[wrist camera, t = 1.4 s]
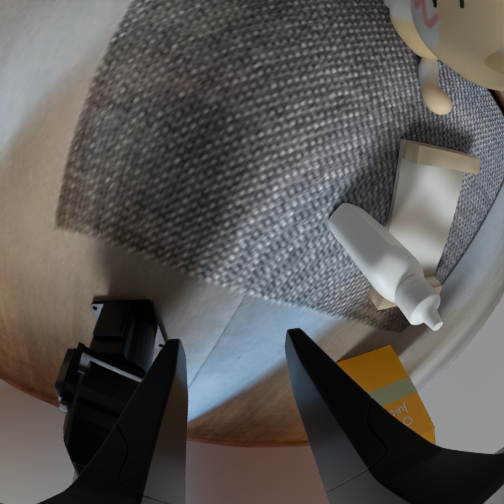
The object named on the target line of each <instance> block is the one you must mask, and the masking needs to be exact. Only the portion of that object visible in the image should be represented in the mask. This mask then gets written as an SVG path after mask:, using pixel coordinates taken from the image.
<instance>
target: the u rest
mask: <svg viewBox="0 0 504 504" xmlns="http://www.w3.org/2000/svg"><path fill="white" fill-rule="evenodd" d="M480 163H481V160H480V159H478V158H476V157H473V156H471V155H469V154H466V153H464V152H460V151H456V150H452V149H448V148H444V147H440V146H436V145H431V144H426V143H421V142H416V141H411V140H406V139H401V141H400V149H399V157H398V165H397V171H396V178H395V184H394V190H393V195H392V201H391V206H390V211H389V216H388V220H387V225H386V230H387V231H388V232H390V233H391V234H392V235H393V236H394V237H395V238H396V239H397V240H398V241H399V242H400V243H401V244H402V245H403V246H404V247H405V248H406V249H407V250H408V251H409V252H410V253H411V254H412V255H413V256H414V257H415V258H416V259H417V260H418V261H419V263H420V265H421V267H422V269H423V272H424V278H425V279H426V280H427V281H428V283H429V284H430V285H431V286H432V287H433V288H434V289H435V290H436V292H437V293H438V294H440V292H441V290H442V287H443V285H442V284H441V283H440V282H439V281H438V280H437V279H436V277H435V276H434V274H435V271H436V268H437V266H438V263H439V260H440V258H441V255H442V252H443V249H444V246H445V243H446V240H447V237H448V234H449V230H450V227H451V224H452V220H453V217H454V213H455V209H456V205H457V201H458V197H459V193H460V189H461V184H462V179H463V174H464V172H468V173H473V174H479V169H480ZM368 295H369V297H370V298H371V300H372V301H373V303H374V304H375V306H376V307H377V309H378V310H381V309H386V308H391V307H395V306H398V305H397V304H396V303H394V302H391V301H389V300H387V299H385V298H384V297H383V296H381V295H380V294H379V293H378V292H377V291H376V289H375V288H374V287H373V286H372V284H371V286H370V289H369V293H368Z"/></svg>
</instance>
